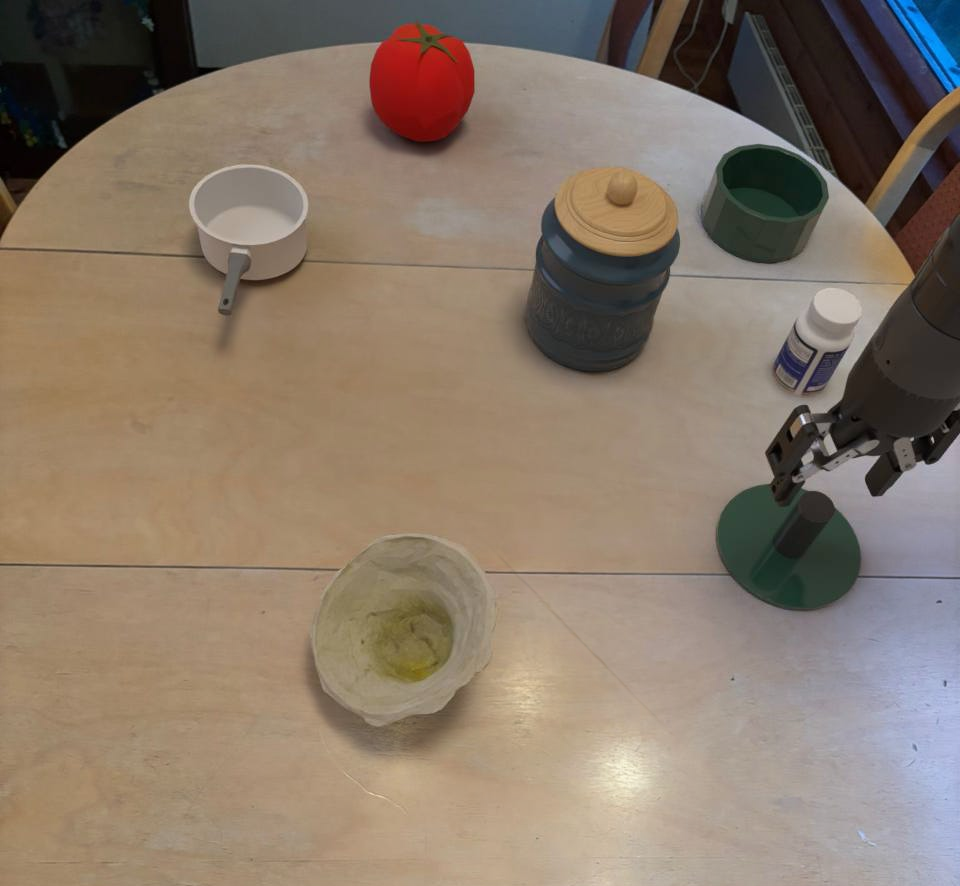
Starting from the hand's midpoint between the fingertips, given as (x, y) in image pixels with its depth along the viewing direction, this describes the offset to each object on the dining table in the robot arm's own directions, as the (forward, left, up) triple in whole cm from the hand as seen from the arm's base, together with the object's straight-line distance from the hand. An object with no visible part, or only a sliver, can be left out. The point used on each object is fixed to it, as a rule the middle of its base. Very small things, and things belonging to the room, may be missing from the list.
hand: (826, 493), depth 79 cm
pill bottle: (-17, -13, -9) cm, 23 cm away
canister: (-4, -31, -9) cm, 33 cm away
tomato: (-10, -65, -9) cm, 66 cm away
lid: (0, 0, -8) cm, 8 cm away
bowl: (+35, -13, -9) cm, 38 cm away
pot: (-31, -31, -9) cm, 45 cm away
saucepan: (+20, -56, -9) cm, 60 cm away
